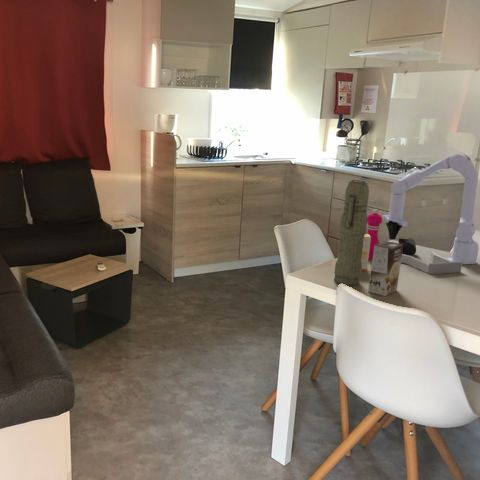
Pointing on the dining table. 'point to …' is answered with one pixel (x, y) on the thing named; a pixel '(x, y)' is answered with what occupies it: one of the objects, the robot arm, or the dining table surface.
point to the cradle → (433, 264)
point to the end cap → (408, 246)
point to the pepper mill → (373, 230)
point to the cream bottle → (365, 251)
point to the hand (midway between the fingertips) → (392, 239)
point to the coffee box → (385, 268)
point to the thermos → (352, 233)
